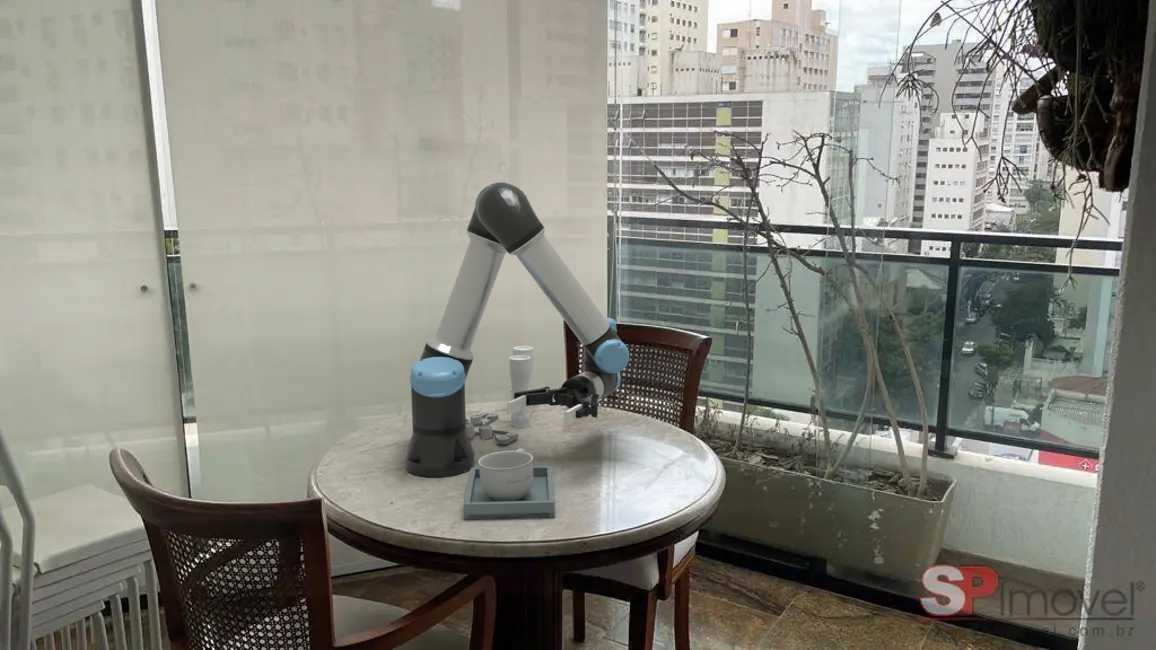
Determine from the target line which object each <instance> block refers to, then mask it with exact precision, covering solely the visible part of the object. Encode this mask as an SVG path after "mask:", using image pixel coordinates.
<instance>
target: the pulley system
mask: <svg viewBox="0 0 1156 650" xmlns="http://www.w3.org/2000/svg"><path fill="white" fill-rule="evenodd" d="M482 418H483V419H486V418H487V420H488V421H487V422H484V421H483V419H482ZM497 420H499V414H498V413H497V412H496V413H495V412H493V413H487V412H477V413H475V414H472V415H470V416H469V419H468V418H466V432H467V435H468V438H471V437H480V439H481V440H490V439H492V438H494V440H495V441H496V442H497V444H498V445H501V446H507V444H509V443H511V442H513V441H515V440H517V439H518V438H519V433H518V432H517V431H504V430H497V429H493V427H492V426H493V425H491V424H492V423H494V422H495V421H497ZM483 422H484V423H483ZM475 428H478V431H479V432H475ZM496 435H500V436H498V437H497V436H496Z"/></svg>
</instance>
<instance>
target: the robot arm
mask: <svg viewBox="0 0 1156 650" xmlns="http://www.w3.org/2000/svg"><path fill="white" fill-rule="evenodd" d="M474 205H475V206H474V209H473V212H472V215H471V218H470V219H469V222H468V223H469V224H468V226H467V228H466V234H467V236H468V238H469V243H468V246H467V248H466V252H465V253H464V257H463V259H462V263H461V264H460V268H459V269H458V270H459V271H458V273H457V276H456V278H455V282H454V284H453V286H452V289H451V292H450V296H449V299H448V301H447V303H446V306H445V309H444V311H443V316H442V317H441V320H440V322H439V325H438V328H437V331H436V334H435V335H434V336H433V337H431V338H429V339H427V340H426V342H425V345H424V347H423V351H422V353H421V355H420V358H419V361H416V362H415V363H414V364H413V365H412V367H411V370H410V375H409V384H410V393H411V395H410V396H411V419H412V422H411V423H412V435H411V437H410V438H411V439H410V441H409V444H408V445H409V446H408V448H407V452H406V455H405V468H406V470H407V472H409V473H411V474H413V475H417V476H421V477H429V478H431V477H433V478H434V477H435V478H436V477H437V478H438V477H441V478H442V477H449V476H451V477H452V476H455V475H458V474H459V475H460V474H463V473H465V472H467V471H469V470H471V468H472V467H474V466H475V464H476V463H475V461H476V460H475V451H474V449H473V446H472V444H471V441H470V437H468V435H467V432H466V419H467V417H466V384H465V382H466V381H467V377H468V375H469V371H470V369H471V367H472V363H473V361H474V354H473V352H472V349H471V347H472V345H473V342H474V339H475V337H476V334H477V331H478V328H479V326H480V323H481V320H482V318H483V315H484V312H485V310H486V307H487V304H488V302H489V299H490V296H491V293H492V291H493V288H494V285H495V282H496V280H497V276H498V275H499V272H500V268H501V266H502V263H503V261H504V258H505V256H506V254H507V253H508V254H509V256H510V255H512V256H515V257H516V258H517V259H518V260H519V261H520V263H521V264H522V266H523V267H524V268H525V270H526V271H527V272H528V274H529V275H530V276H531V277H532V279H533V280H534V282H535V283H536V284H537V285H538V287H539V288H540V290H541V291H542V292H543V294H544V295H545V296H546V298H547V299H548V300H549V301H550V303H551V304H552V306H553V307H554V309H555V310H556V311H557V312H558V313H559V315H560V316H561V318H562V319H563V320H564V322H565V323H566V324H567V326H568V327H569V328H570V330H571V332H573V334H574V335H575V336H576V338H577V339H578V340H579V342H580V343H581V345H582V346H583V347H584V359H583V372H582V373H579V374H577V375H574V376H572V377H570V378H568V379H566V380H565V381H564V382H563V383H562V384H561V387H559V388H555V389H551V388H550V387H549V386H544V387H541V388H536V389H532V390H528V391H522V392H516V393H514V400H512V401H511V400H510V401H508V402H507V415H510V416H511V415H512V414H514V413H516V412H518V411H520V410H523V409H524V408H526V406H531V405H533V406H540V405H548V406H551V407H552V406H560V407H561V406H562V407H563V406H565V407H567V408H568V409H567V410H566V411H565V413H564V414H565V417H564V424H565V425H568V426H569V425H570V424H572V423H574V422H575V421H578V420H579V419H582V418H587V417H589V415H591V417H592V418H598V411H599V409H598V408H599V405H600V400H601V399H604V398H605V397H608V396H610V395H612V394H614V392H615V391H616V390H617V389H619V386H620V385H621V380H622V379H621V377H622V376H621V374H620V372H621V371H623V370H624V369H626V367H627V365H628V364H629V360H630V352H629V351H630V350H629V349H628V347H627V345H626V344H625V342H623V341H622V340H621V338H620V336H618V334H617V333H618V330H617V321H616V320H615V319H614V318H612V317H605V316H604V315H603V314H602V312H601V310H600V309H599V308H598V307H597V305H596V303H594V301H593V300H592V298H591V297H590V296H589V294H588V293H587V291H586V290H585V289H584V287H583V286H582V285H581V284H580V282H579V280H578V279H577V278H576V277H575V275H574V274H573V272H572V271H571V269H570V268H569V267H568V265H567V263H565V262H564V260H563V259H562V257H561V256H560V255H559V253H558V252H557V251H556V249H555V248H554V246H553V245H552V243H551V242H550V241H549V240H548V238H547V237H546V235H545V229H546V227H545V226H544V225H543V223H542V222H541V220H540V219H539V218H538V216H537V214H536V212H535V210H534V209H533V206H532V204H531V203H530V201H529V199H528V197H527V195H526V194H525V193H524V191H522V189H521V188H519V187H518V186H516V185H514V184H511V183H509V182H508V183H507V182H505V181H504V182H502V181H501V182H500V181H498V182H494V183H491V184H489V185H487V186H486V187H484V188H483V189H482V190H481V191H480V192H479V194H478V195H477V197H476V200H475V204H474Z"/></svg>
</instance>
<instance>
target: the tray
mask: <svg viewBox="0 0 1156 650" xmlns="http://www.w3.org/2000/svg"><path fill="white" fill-rule="evenodd" d="M552 468H553V467H552V465H533V486H532V488H531V490H530V491H529V492H528V493H526V495H525V496H524V497H522V498H521V499H518V500H515V501H506V502H500V501H496V500H493V499H492V498H491V497H489V496H488V495H486V494H485V493H484V491H483V489H482V486H481V480H480V470H479V466H477V467H474V466H473V467H472V468H471V469H470V471H469V477H468V481H467V486H466V492H465V498H464V502H463V503H464V504H463V514H464V518H463V519H464V520H467V521H468V520H499V519H500V520H501V519H502V520H505V519H506V518H509V519H534V518H535V519H536V518H537V519H539V518H540V519H541V518H542V519H543V518H547V519H548V518H549V519H550V518H555V516H556V515H555V513H556V511H555V510H556V509H555V505H556V503H555V490H554V479H553V469H552Z"/></svg>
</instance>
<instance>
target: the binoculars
mask: <svg viewBox="0 0 1156 650" xmlns="http://www.w3.org/2000/svg"><path fill="white" fill-rule="evenodd" d="M512 353H513V355H512V356H509V357H508V358H509V360H508V361H509V362H508V363H509V375H510V376H509V377H510V381H511V383H510V384H511V390H510V393H511V400H510V401H512V400H514V393H516V392H522V391H528V390H533V379H532V378H533V374H532V373H533V372H532V371H533V363H534V347H533V346H530V345H518V346H514V347H513V348H512ZM533 407H534V405H531V406H526V408H524V409H523V410H520V411H518V412H516V413H514V414H512V415H510V420H511V426H512V428H516V429H524V428H529V427H530V426H529V425H530V423H531V422H530V421H531V414H532V413H533ZM528 426H529V427H528Z"/></svg>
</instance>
